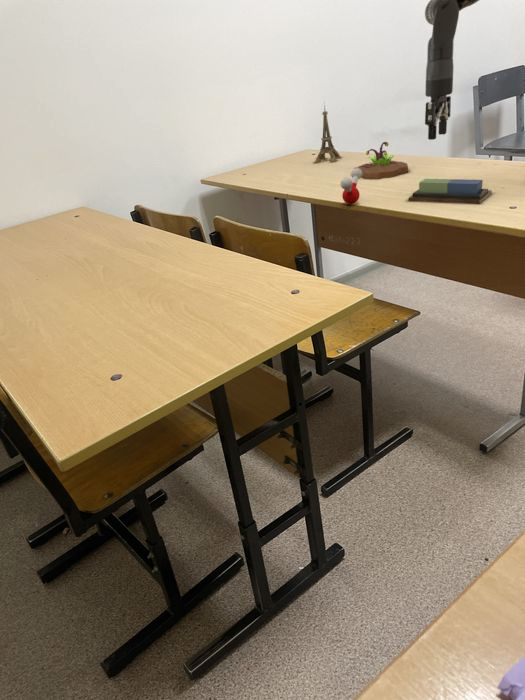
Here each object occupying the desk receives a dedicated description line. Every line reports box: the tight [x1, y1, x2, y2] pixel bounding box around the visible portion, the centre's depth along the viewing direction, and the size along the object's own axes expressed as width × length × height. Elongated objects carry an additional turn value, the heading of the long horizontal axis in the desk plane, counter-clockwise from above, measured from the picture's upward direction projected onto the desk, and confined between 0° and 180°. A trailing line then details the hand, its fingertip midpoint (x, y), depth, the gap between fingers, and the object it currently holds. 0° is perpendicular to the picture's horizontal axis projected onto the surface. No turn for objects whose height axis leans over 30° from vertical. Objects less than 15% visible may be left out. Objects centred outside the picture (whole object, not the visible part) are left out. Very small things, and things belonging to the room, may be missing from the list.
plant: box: [353, 141, 409, 180], centre depth 207 cm, size 20×20×11 cm
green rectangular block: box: [418, 178, 454, 193], centre depth 168 cm, size 9×5×4 cm, turn 54°
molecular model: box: [340, 167, 363, 205], centre depth 172 cm, size 18×6×10 cm, turn 165°
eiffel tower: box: [313, 102, 343, 164], centre depth 240 cm, size 11×11×25 cm
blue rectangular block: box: [447, 178, 484, 195], centre depth 163 cm, size 9×5×4 cm, turn 54°
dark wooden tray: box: [408, 188, 493, 205], centre depth 166 cm, size 22×12×2 cm, turn 54°
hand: (437, 136), depth 160 cm, fingers open, 8 cm apart
